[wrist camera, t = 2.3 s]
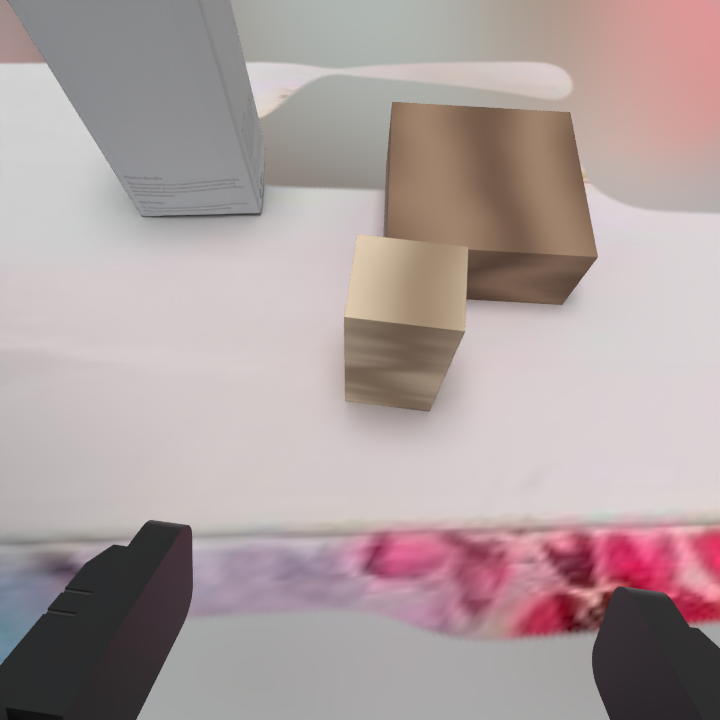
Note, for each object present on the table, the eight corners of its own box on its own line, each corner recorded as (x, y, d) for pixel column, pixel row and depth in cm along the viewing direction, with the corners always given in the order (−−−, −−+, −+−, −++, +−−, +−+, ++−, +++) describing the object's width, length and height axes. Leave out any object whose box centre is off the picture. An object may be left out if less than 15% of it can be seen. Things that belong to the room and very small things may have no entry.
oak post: (345, 400, 27) (344, 316, 19) (354, 336, 28) (357, 234, 20) (429, 411, 27) (465, 331, 18) (433, 346, 28) (468, 247, 20)
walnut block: (380, 296, 30) (386, 244, 25) (386, 165, 35) (392, 101, 30) (559, 307, 30) (597, 257, 25) (541, 174, 35) (570, 112, 30)
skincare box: (267, 154, 34) (215, -125, 21) (262, 221, 32) (199, -49, 18) (146, 154, 34) (16, -128, 21) (132, 222, 32) (-28, -51, 18)
